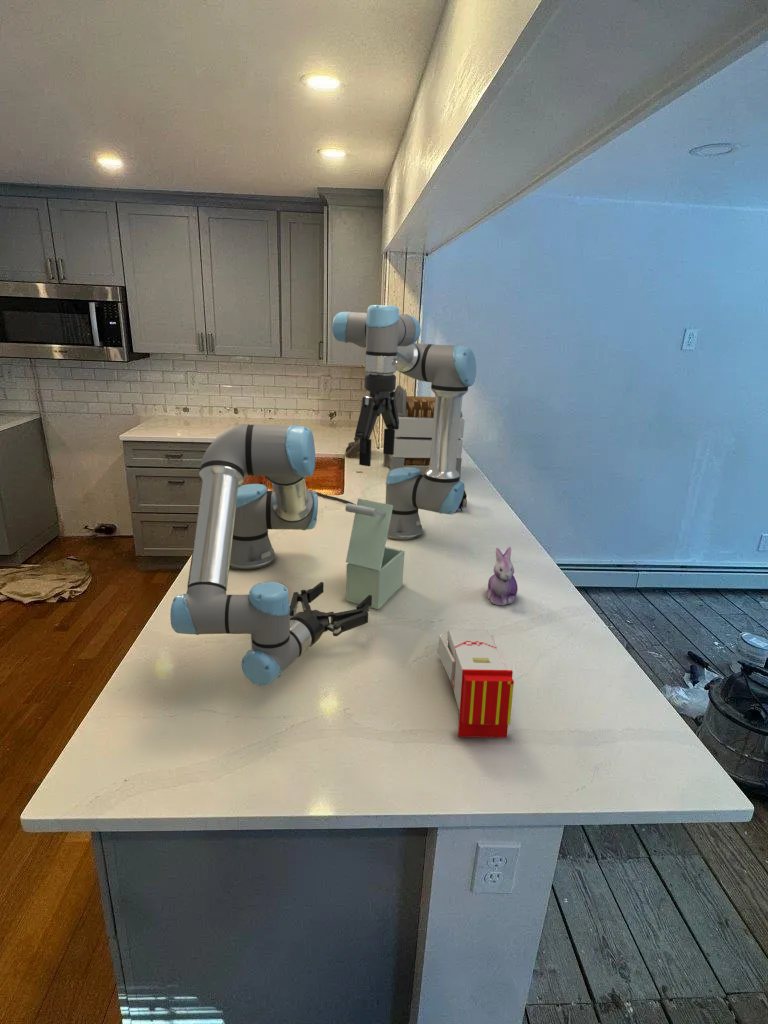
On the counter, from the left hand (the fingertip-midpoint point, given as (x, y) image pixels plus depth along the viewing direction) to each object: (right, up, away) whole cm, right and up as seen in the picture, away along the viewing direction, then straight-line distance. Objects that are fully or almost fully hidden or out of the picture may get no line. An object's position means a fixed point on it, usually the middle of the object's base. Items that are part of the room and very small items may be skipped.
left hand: (346, 593), depth 141 cm
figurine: (+42, -4, +17) cm, 46 cm away
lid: (+6, +14, +7) cm, 17 cm away
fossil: (-5, +52, +165) cm, 173 cm away
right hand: (+8, +33, +2) cm, 34 cm away
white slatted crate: (+27, +39, +134) cm, 142 cm away
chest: (+7, -2, +17) cm, 19 cm away
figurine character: (+39, +22, +89) cm, 99 cm away
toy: (+27, -17, -22) cm, 39 cm away
